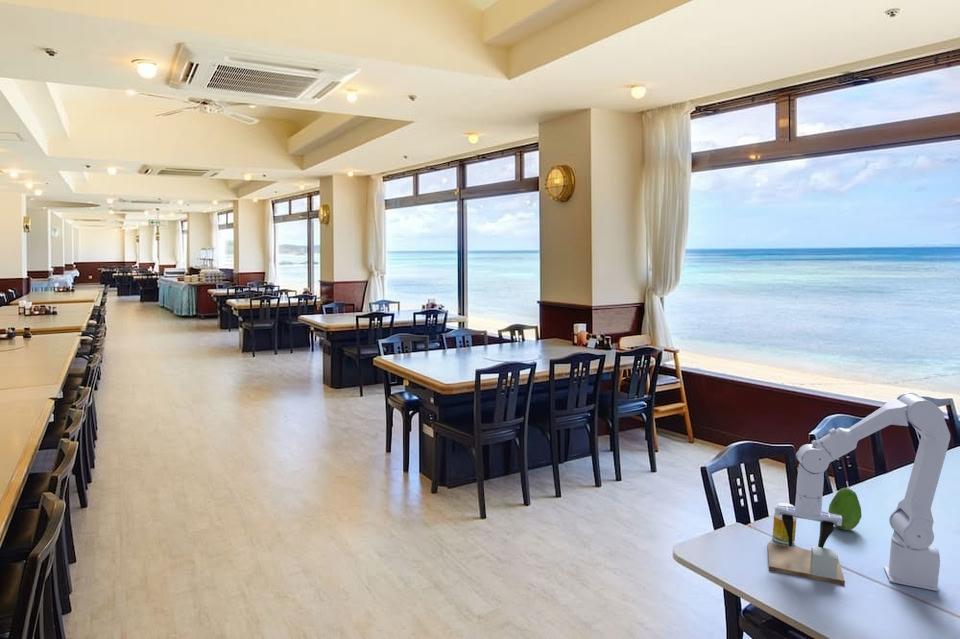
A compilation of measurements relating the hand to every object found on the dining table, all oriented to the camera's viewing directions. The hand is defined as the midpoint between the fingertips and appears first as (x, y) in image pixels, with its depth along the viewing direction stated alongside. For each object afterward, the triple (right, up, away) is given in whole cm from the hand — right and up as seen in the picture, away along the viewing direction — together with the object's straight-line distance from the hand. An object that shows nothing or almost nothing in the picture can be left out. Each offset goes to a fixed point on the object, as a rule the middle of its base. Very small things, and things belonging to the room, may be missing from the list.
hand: (805, 547), depth 155 cm
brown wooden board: (0, -4, 0) cm, 4 cm away
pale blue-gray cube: (+2, -4, -5) cm, 7 cm away
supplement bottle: (+1, -3, +14) cm, 14 cm away
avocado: (+22, -3, +22) cm, 32 cm away
